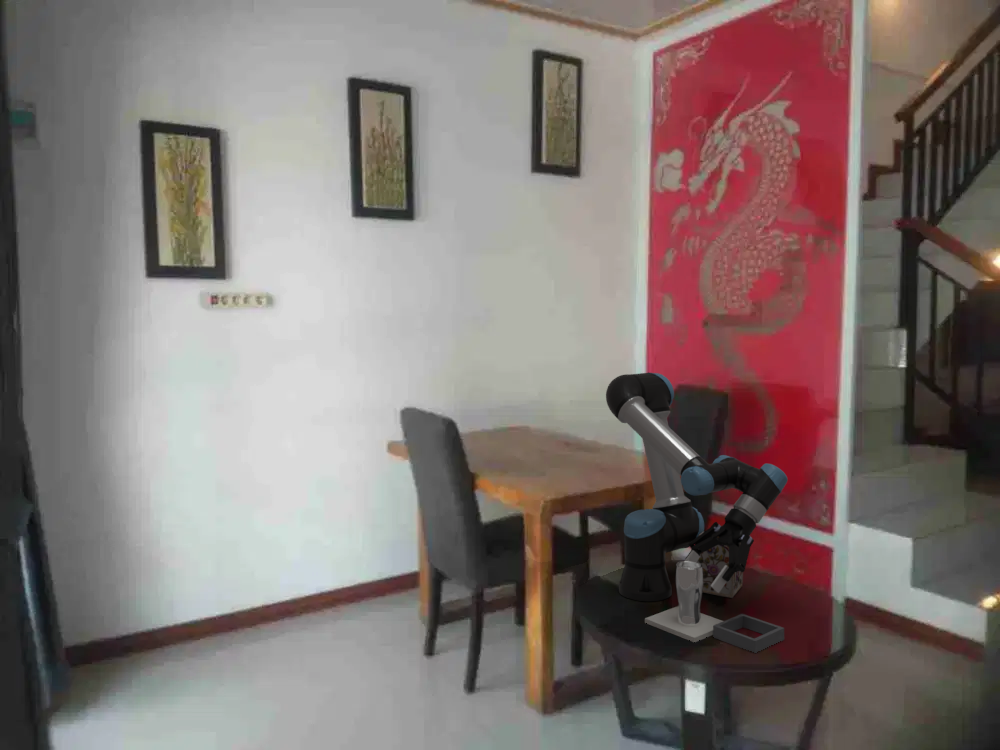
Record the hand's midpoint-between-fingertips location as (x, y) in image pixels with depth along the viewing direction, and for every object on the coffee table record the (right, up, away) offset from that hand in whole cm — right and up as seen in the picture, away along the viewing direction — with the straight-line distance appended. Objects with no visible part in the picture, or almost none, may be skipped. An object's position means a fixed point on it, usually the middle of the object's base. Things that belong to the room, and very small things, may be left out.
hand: (697, 580), depth 191 cm
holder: (+11, -12, -7) cm, 18 cm away
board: (-2, -12, +2) cm, 12 cm away
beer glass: (-2, -11, +1) cm, 11 cm away
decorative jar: (+13, -10, +27) cm, 32 cm away
